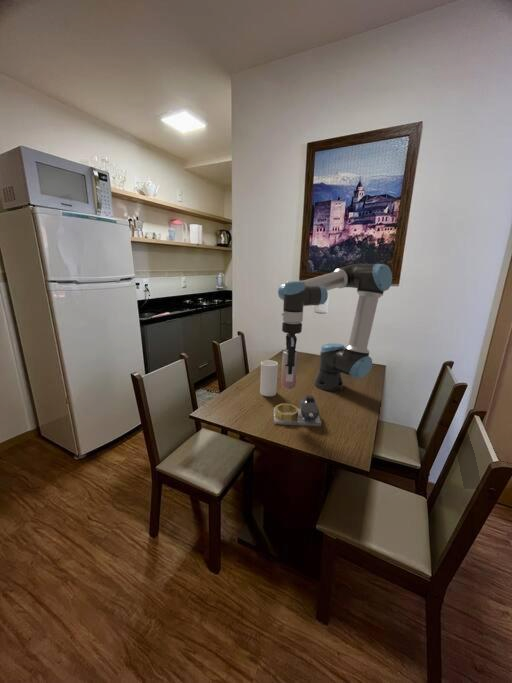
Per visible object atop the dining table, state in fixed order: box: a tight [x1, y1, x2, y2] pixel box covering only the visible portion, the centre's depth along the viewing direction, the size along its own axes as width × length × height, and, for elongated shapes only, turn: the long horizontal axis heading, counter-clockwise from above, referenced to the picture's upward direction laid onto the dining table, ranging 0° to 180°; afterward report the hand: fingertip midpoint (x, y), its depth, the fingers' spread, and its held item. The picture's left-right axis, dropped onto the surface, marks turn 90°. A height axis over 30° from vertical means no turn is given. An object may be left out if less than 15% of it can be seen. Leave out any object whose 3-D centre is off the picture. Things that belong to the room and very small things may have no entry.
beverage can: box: [280, 349, 298, 390], centre depth 112 cm, size 6×6×15 cm
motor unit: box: [273, 395, 322, 427], centre depth 115 cm, size 19×12×10 cm, turn 87°
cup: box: [259, 359, 279, 397], centre depth 138 cm, size 8×8×16 cm
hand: (288, 377), depth 113 cm, fingers closed on beverage can, 6 cm apart
